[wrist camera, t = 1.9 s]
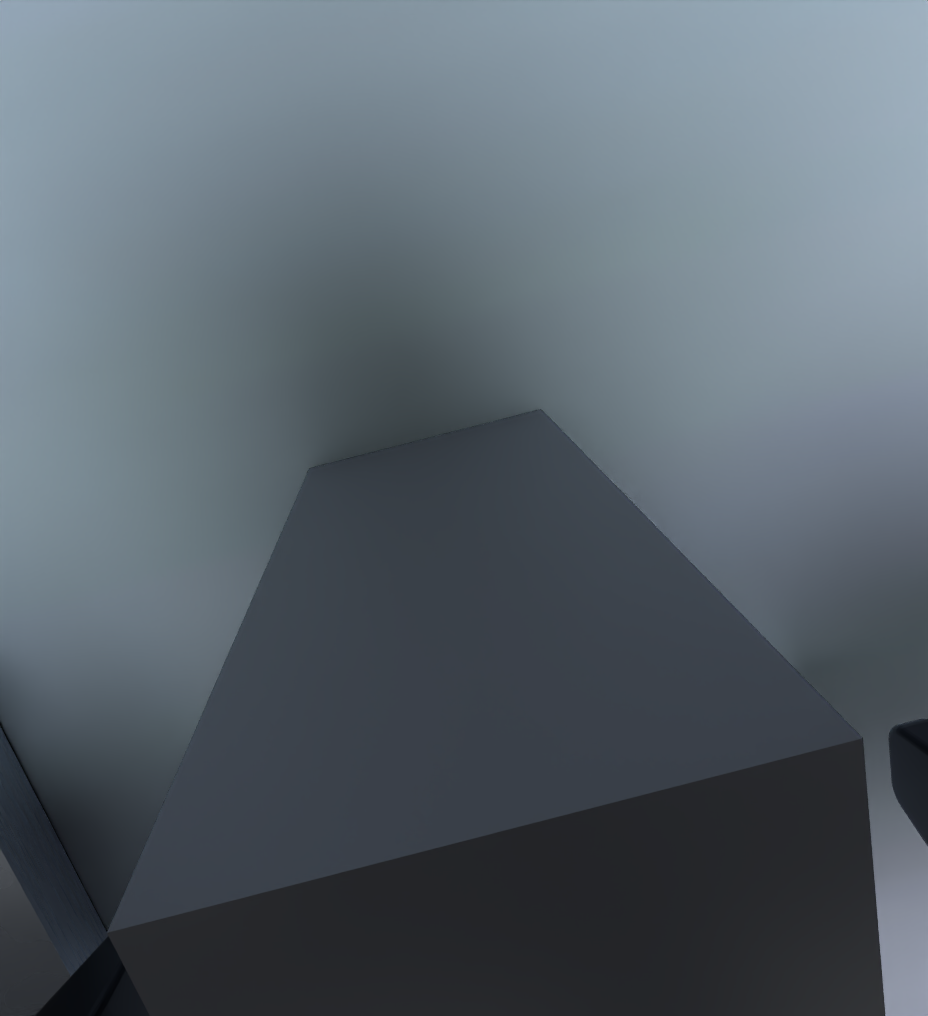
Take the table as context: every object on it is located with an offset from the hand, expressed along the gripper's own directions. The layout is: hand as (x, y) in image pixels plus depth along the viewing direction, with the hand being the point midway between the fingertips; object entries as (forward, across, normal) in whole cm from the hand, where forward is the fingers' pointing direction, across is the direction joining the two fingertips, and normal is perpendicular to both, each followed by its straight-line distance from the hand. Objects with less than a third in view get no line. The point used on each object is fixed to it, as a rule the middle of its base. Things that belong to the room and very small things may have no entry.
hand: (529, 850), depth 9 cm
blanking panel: (+2, 0, 0) cm, 2 cm away
